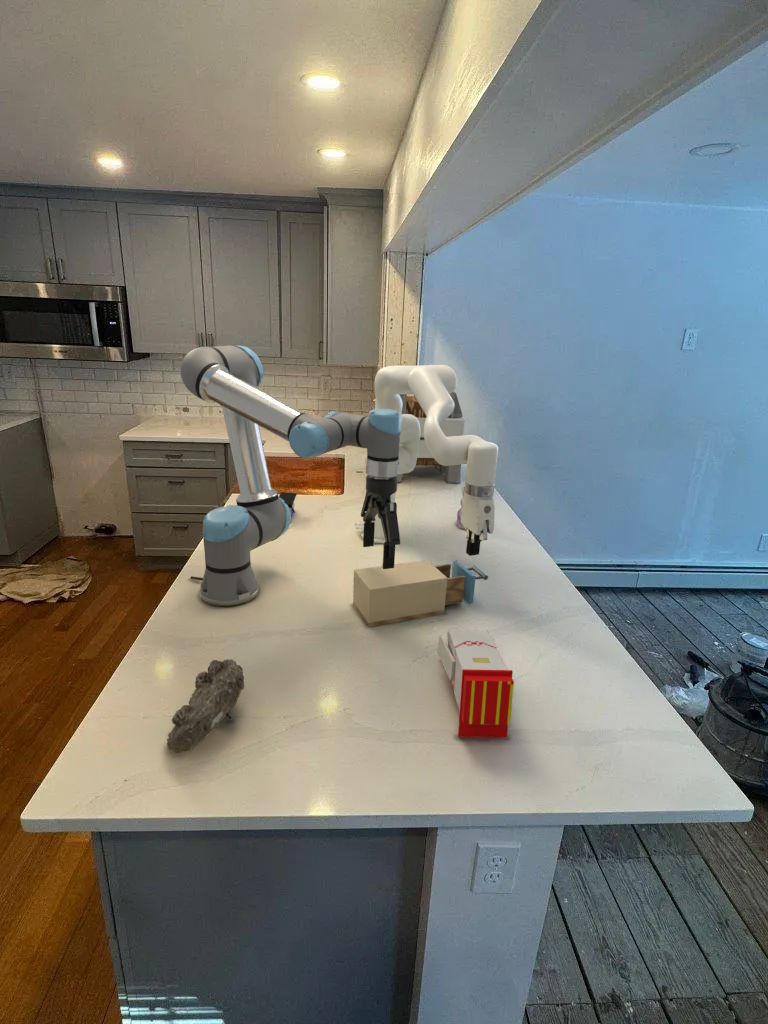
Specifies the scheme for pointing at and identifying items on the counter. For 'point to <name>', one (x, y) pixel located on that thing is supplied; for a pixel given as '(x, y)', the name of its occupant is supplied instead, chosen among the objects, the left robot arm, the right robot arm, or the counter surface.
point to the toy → (478, 682)
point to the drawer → (460, 582)
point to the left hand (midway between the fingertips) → (377, 556)
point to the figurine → (460, 511)
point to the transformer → (448, 426)
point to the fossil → (206, 705)
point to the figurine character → (289, 500)
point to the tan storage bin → (399, 592)
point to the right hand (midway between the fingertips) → (472, 553)
